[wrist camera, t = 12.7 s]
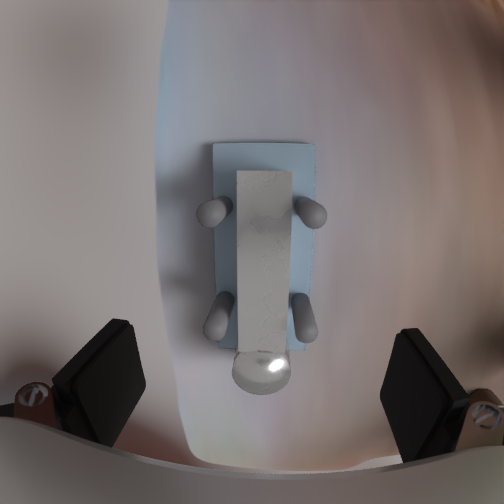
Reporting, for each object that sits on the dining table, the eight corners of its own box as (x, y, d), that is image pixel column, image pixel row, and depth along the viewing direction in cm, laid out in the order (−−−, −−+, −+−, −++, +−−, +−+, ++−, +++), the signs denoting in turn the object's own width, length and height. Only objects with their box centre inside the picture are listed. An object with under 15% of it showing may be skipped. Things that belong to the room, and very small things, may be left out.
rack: (215, 145, 23) (195, 134, 17) (313, 145, 23) (328, 134, 16) (220, 341, 28) (207, 384, 21) (303, 343, 27) (311, 387, 21)
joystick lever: (236, 171, 23) (228, 170, 18) (295, 172, 22) (301, 171, 18) (238, 363, 27) (232, 393, 23) (286, 364, 27) (288, 395, 22)
